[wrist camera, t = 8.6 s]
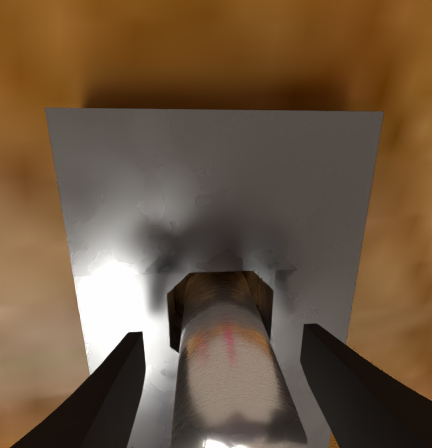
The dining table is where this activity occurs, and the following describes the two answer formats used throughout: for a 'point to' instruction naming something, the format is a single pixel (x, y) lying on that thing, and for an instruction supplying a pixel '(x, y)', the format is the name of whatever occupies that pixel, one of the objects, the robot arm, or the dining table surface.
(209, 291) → the steel peg
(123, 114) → the dock plate
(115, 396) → the robot arm
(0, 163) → the dining table surface
